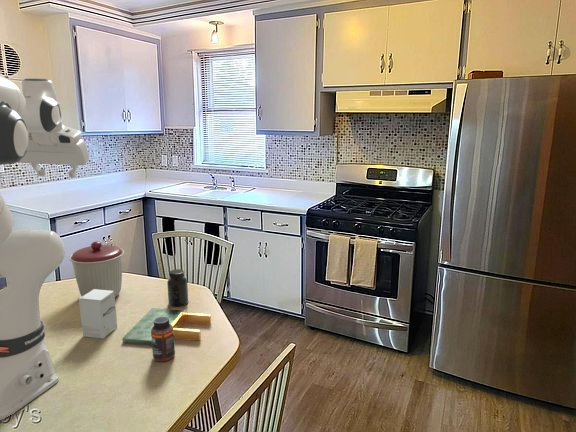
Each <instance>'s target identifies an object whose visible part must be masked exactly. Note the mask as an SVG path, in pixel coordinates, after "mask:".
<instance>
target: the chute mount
mask: <svg viewBox="0 0 576 432" xmlns="http://www.w3.org/2000/svg"><path fill="white" fill-rule="evenodd" d="M158 317H168V318H169V324H171V325H172V326H173V332H174V340H183V341H184V340H185V341H186V340H187V341H198V342H200V341H201V340H202V338H201V337H202V335H201V330H200V329H193V328H192V329H191V328H190V329H189V328H180V327H181V326H182V325H183V324H184V323H185V324H197V325H199V324H200V325H211V324H212V314H208V313H206V314H205V313H193V312H187V310H184V309H172V308H170V309H169V308H160V307H159V308H158V307H151V309H150V310H149V311H147V313H146V314H145V315H144V316H143V317H142V318H141V319H140V320H139V321H138V322H137V323H136V324H135V325H134V326H133V327H132V328H131V329H130V330H129V331H128V332H127V333H126V334H125V335H124V336H122V339H121V340H122V344H130V345H131V344H133V345H143V346H152V338H151V329H152V327H153V326H154V320H155V319H156V318H158Z"/></svg>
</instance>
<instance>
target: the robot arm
mask: <svg viewBox="0 0 576 432" xmlns="http://www.w3.org/2000/svg"><path fill="white" fill-rule="evenodd" d="M21 89H22V90H21ZM21 89H20V88H19V86H18V85H17V84H16V83H14V82H12V80H10V79H8V78H6V77H5V76H2V75H0V166H3V165H11V164H12V165H13V164H15V163H19V162H20V163H21V164H30V165H31V167H32V168H33V170H34V171H36V172H37V173H36V174H37V176H38V177H44V176H45V175H46V171H45V169H42V168H41V166H40V165H39V164H42V165H43V164H44V165H67V166H69V165H70V168H72V170H70V171H68V177H69V178H76V176H77V172H76V171H77V169H78V167H79V166H85V165H86V164H87V163H88V161H89V160H90V156H89V150H88V147H87V145H86V142H85V141H84V140H83V139H82V137H83V132H82V131H80V130H78V129H76V128H72V127H70V126H67V125H64V122H63V120H62V112H61V107H60V105H61V104H60V102H59V97H58V93H57V91H56V88H55V84H54V83H53V81H52V80H50V79H48V78H25V79H23V80H21ZM14 222H15V221H14V216H13V213H12V212H11V210H10V208H9V206H8V205H7V203H6V201H5V200H4V198H3V196H2V194H1V193H0V279H3V278H4V279H7V281H8V285H7V286H5V287H3V288H1V289H0V421H1V420H5V418H6V417H8V416H9V417H11V416H12V415H13V414H15V413H17V411H19V410H21V409H22V408H24V407H25V406H26V405H27V404H29V403H30V402H32V401H33V400H34V399H36V398H38V397H39V396H40V395H42V394H43V393H44V392H46V391H47V390H49V389H50V388H51V387H53V386H54V385H56V384H57V383H58V382H59V379H60V378H59V376H58V375H57V373H56V367H55V366H54V364H53V361H52V359H51V358H52V357H51V354H50V351H49V348H48V346H47V344H46V341H45V336H46V334H45V327H44V323H43V321H42V320H41V313H40V312H41V311H40V292H41V289H42V286H43V284H44V282H45V281H46V279H47V278H48V277H49V276H50V275H51V274H52V273H53V272H54V271H56V270H57V269H58V268H59V267H60V265H61V264H62V262H63V260H64V259H65V254H66V246H65V244H64V243H65V242H64V240H63V239H62V238H61V237H60V235H59V234H58V233H57V232H55V231H53V230H47V229H38V228H37V229H36V228H29V229H14V226H15V223H14ZM10 415H11V416H10ZM9 417H8V418H9ZM6 419H7V418H6Z"/></svg>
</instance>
